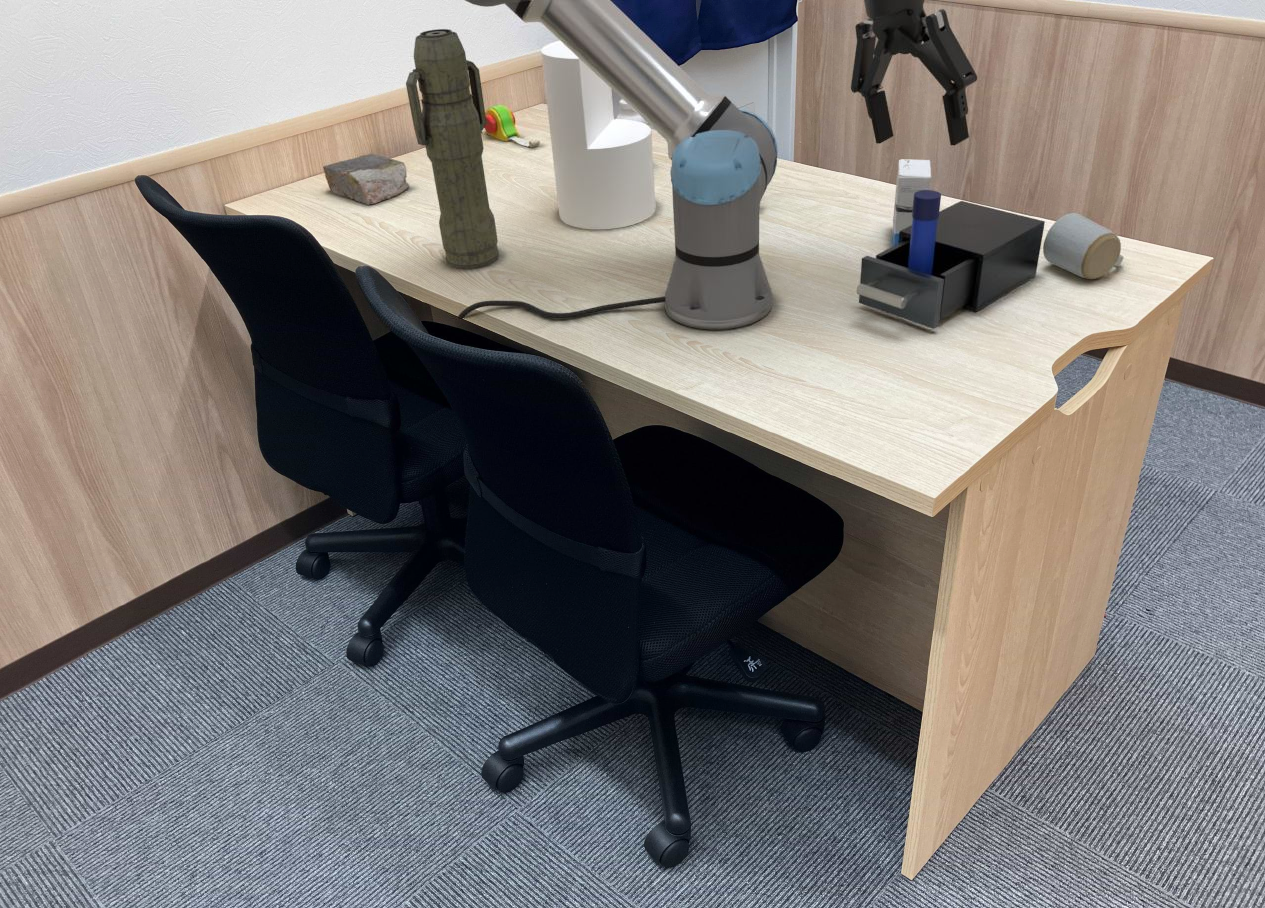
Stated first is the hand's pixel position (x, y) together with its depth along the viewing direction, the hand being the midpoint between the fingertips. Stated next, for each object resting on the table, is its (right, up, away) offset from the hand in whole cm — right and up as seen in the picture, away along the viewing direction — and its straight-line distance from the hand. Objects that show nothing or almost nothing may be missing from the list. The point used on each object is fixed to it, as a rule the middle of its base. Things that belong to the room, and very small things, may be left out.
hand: (920, 140), depth 136 cm
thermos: (-66, -11, +28) cm, 72 cm away
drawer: (0, -22, +2) cm, 22 cm away
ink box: (+4, -9, +22) cm, 25 cm away
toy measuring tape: (-66, +26, +83) cm, 109 cm away
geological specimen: (-91, +9, +60) cm, 109 cm away
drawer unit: (+9, -18, +9) cm, 22 cm away
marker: (0, -21, +1) cm, 21 cm away
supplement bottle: (-39, +14, +61) cm, 74 cm away
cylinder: (-44, 0, +42) cm, 61 cm away
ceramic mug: (+26, -16, +9) cm, 32 cm away
